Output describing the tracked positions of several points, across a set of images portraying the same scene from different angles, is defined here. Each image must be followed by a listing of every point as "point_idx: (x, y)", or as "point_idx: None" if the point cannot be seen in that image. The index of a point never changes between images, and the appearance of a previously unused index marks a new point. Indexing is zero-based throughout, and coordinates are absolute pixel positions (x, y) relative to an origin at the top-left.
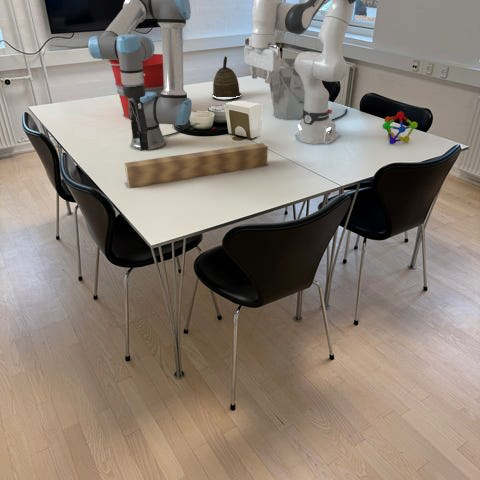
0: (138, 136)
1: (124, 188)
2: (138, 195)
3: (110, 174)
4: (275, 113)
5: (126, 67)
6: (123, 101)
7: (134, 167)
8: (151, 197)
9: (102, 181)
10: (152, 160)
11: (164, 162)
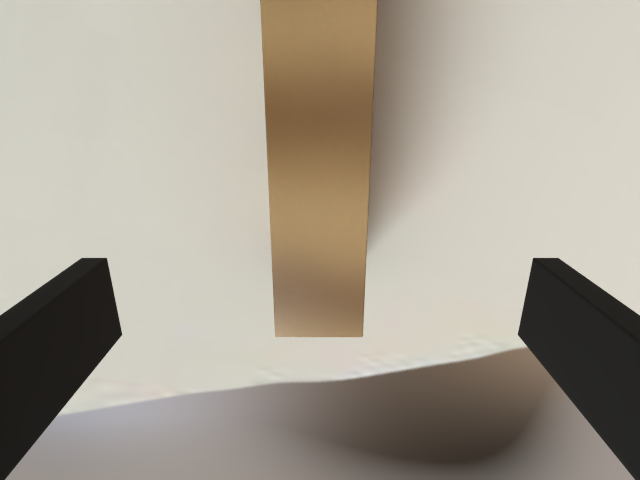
0: (98, 286)
1: None
2: (460, 251)
3: (149, 326)
4: None
5: None
6: None
7: (364, 287)
8: (517, 197)
9: (226, 369)
10: (301, 141)
11: (374, 47)
